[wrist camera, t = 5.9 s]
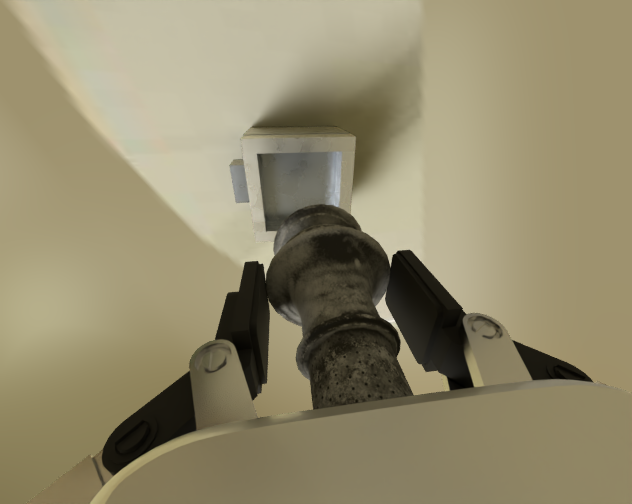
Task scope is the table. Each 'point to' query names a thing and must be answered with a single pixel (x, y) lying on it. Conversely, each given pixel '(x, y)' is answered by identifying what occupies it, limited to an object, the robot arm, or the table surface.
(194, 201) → the table surface
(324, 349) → the dark grey turned piece
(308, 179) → the grey open box
